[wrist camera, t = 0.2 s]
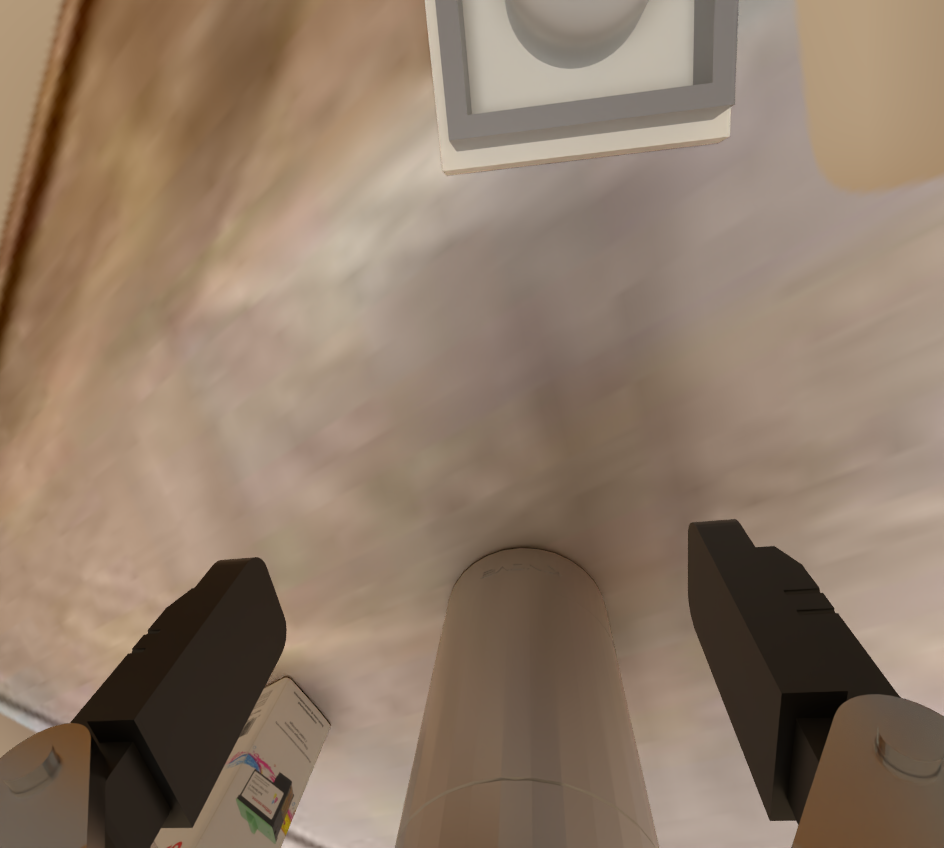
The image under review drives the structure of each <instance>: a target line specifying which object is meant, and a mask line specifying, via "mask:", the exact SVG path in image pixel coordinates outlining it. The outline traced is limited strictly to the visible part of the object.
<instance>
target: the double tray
mask: <svg viewBox="0 0 944 848" xmlns="http://www.w3.org/2000/svg"><path fill="white" fill-rule="evenodd" d="M738 1H739V0H425V8H426V17H427V27H428V36H429V46H430V56H431V65H432V75H433V85H434V94H435V104H436V114H437V123H438V133H439V143H440V152H441V162H442V171H443V172H444V173H445V174H446V175H447V176H448V175H457V174H465V173H473V172H482V171H490V170H498V169H507V168H515V167H523V166H532V165H540V164H548V163H557V162H565V161H573V160H582V159H590V158H599V157H607V156H615V155H624V154H632V153H640V152H649V151H657V150H665V149H674V148H682V147H690V146H699V145H707V144H715V143H719V142H721V141H723V140H724V139H726V138H728V137H730V118H731V107H732V106H733V105H734V104H735V82H736V55H737V28H738Z"/></svg>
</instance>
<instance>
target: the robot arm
mask: <svg viewBox="0 0 944 848" xmlns="http://www.w3.org/2000/svg"><path fill="white" fill-rule="evenodd" d="M688 599H689V607H690V612H691V617H692V621H693V625H694V628H695V631H696V633H697V636H698V638H699V641H700V643H701V646H702V649H703V651H704V654H705V656H706V659H707V661H708V664H709V667H710V669H711V672H712V674H713V677H714V679H715V682H716V684H717V687H718V690H719V692H720V695H721V697H722V700H723V702H724V705H725V707H726V710H727V713H728V715H729V718H730V720H731V723H732V725H733V728H734V730H735V733H736V736H737V738H738V741H739V743H740V746H741V748H742V751H743V753H744V756H745V759H746V761H747V764H748V766H749V769H750V771H751V774H752V776H753V779H754V782H755V784H756V787H757V789H758V792H759V794H760V797H761V799H762V802H763V805H764V807H765V810H766V812H767V815H768V817H769V820H770V821H793V820H796V821H797V823H798V825H799V826H798V829H797V832H796V835H795V838H794V841H793V844H792V847H791V848H944V716H942V715H940V714H939V713H937V712H935V711H933V710H931V709H929V708H927V707H925V706H923V705H920V704H918V703H915V702H913V701H910V700H907V699H903V698H901V697H900V696H899V695H898V694H897V693H896V691H895V690H894V689H893V687H892V686H891V684H890V683H889V682H888V680H887V679H886V678H885V676H884V675H883V674H882V672H881V671H880V670H879V668H878V667H877V666H876V664H875V663H874V661H873V660H872V659H871V657H870V656H869V655H868V653H867V652H866V651H865V649H864V648H863V647H862V645H861V644H860V643H859V641H858V640H857V638H856V637H855V636H854V634H853V633H852V632H851V630H850V629H849V628H848V626H847V625H846V624H845V622H844V621H843V620H842V618H841V617H840V615H839V614H838V613H835V611H834V607H833V606H832V605H831V603H830V602H829V601H828V599H827V598H826V597H825V595H824V594H823V593H820V590H819V587H818V586H817V584H816V583H815V582H814V580H813V579H812V578H811V576H810V575H809V574H808V572H807V571H806V570H805V568H804V567H803V565H802V564H800V563H799V562H797V561H796V560H794V559H793V558H791V557H790V556H788V555H787V554H785V553H784V552H782V551H781V550H779V549H778V548H776V547H775V546H770V547H755V546H754V544H753V543H752V541H751V540H750V538H749V537H748V535H747V534H746V532H745V530H744V529H743V527H742V526H741V524H740V523H739V522H738V521H737V520H736V519H731V520H718V521H705V522H692V523H690V525H689V530H688ZM285 641H286V621H285V617H284V614H283V611H282V609H281V606H280V603H279V600H278V597H277V595H276V592H275V589H274V586H273V583H272V581H271V578H270V575H269V572H268V570H267V567H266V565H265V563H264V561H263V560H262V559H260V558H258V557H255V558H242V559H229V560H220V561H217V562H216V563H215V564H214V565H213V566H212V567H211V568H210V570H209V571H208V572H207V573H206V574H205V576H204V577H203V578H202V579H201V581H200V582H199V583H198V584H197V586H196V587H195V588H192V589H191V590H189V591H188V592H187V593H186V594H184V595H183V596H182V597H180V598H179V599H178V600H176V601H175V602H174V603H172V604H171V605H170V606H168V607H167V608H166V609H165V610H164V612H163V613H162V614H161V615H160V616H159V617H158V619H157V620H156V621H155V622H154V623H153V625H152V626H151V627H150V628H149V629H148V634H147V635H143V637H142V638H141V639H140V640H139V641H138V643H137V644H136V645H135V646H134V647H133V649H132V650H133V651H132V653H130V654H127V656H126V657H125V658H124V659H123V660H122V662H121V663H120V664H119V665H118V666H117V668H116V669H115V670H114V671H113V672H112V674H111V675H110V676H109V677H108V678H107V680H106V681H105V682H104V683H103V684H102V686H101V687H100V688H99V689H98V690H97V691H96V693H95V694H94V695H93V696H92V697H91V699H90V700H89V701H88V702H87V703H86V705H85V706H84V707H83V708H82V709H81V711H80V712H79V713H78V714H77V715H76V717H75V718H74V719H73V720H72V721H71V722H70V723H66V724H61V725H56V726H53V727H50V728H47V729H45V730H43V731H41V732H38V733H36V734H34V735H33V736H31V737H29V738H27V739H26V740H24V741H22V742H21V743H19V744H18V745H16V746H15V747H14V748H12V749H11V750H9V751H8V752H7V753H6V754H5V755H3V756H2V757H1V758H0V848H158V846H157V845H156V843H155V841H154V840H155V838H156V836H157V835H158V833H159V831H160V829H161V828H193V826H194V824H195V822H196V820H197V818H198V816H199V814H200V812H201V810H202V809H203V807H204V805H205V803H206V801H207V799H208V797H209V795H210V793H211V791H212V789H213V787H214V785H215V783H216V781H217V779H218V777H219V775H220V773H221V771H222V769H223V767H224V765H225V764H226V762H227V760H228V758H229V756H230V754H231V752H232V750H233V748H234V746H235V744H236V742H237V740H238V738H239V736H240V734H241V732H242V730H243V728H244V726H245V724H246V722H247V720H248V718H249V717H250V715H251V713H252V711H253V709H254V707H255V705H256V703H257V701H258V699H259V697H260V695H261V693H262V691H263V689H264V687H265V685H266V683H267V681H268V679H269V677H270V675H271V673H272V671H273V670H274V668H275V666H276V664H277V662H278V660H279V658H280V656H281V654H282V652H283V649H284V646H285ZM395 848H659V844H658V840H657V835H656V831H655V826H654V822H653V818H652V813H651V809H650V804H649V800H648V795H647V791H646V786H645V782H644V777H643V773H642V768H641V764H640V760H639V755H638V751H637V746H636V742H635V737H634V733H633V728H632V724H631V719H630V715H629V710H628V706H627V702H626V697H625V693H624V688H623V684H622V679H621V675H620V670H619V666H618V661H617V656H616V651H615V646H614V642H613V638H612V633H611V629H610V625H609V620H608V616H607V611H606V607H605V604H604V600H603V597H602V594H601V592H600V591H599V589H598V587H597V585H596V583H595V582H594V581H593V580H592V578H591V577H590V576H589V575H588V574H587V573H586V572H585V571H584V570H583V569H582V568H580V567H579V566H578V565H576V564H575V563H573V562H572V561H571V560H569V559H567V558H564V557H562V556H560V555H558V554H556V553H552V552H548V551H544V550H540V549H529V548H517V549H509V550H503V551H500V552H497V553H494V554H491V555H488V556H486V557H484V558H483V559H481V560H479V561H477V562H476V563H474V564H473V565H472V566H471V567H470V568H468V569H467V570H466V571H465V572H464V573H463V574H462V575H461V577H460V578H459V580H458V581H457V583H456V584H455V586H454V588H453V590H452V593H451V596H450V599H449V602H448V607H447V611H446V616H445V620H444V625H443V630H442V634H441V639H440V643H439V646H438V651H437V656H436V660H435V665H434V669H433V674H432V679H431V683H430V688H429V692H428V697H427V702H426V706H425V711H424V715H423V720H422V725H421V729H420V734H419V738H418V743H417V748H416V752H415V757H414V761H413V766H412V771H411V775H410V780H409V784H408V789H407V794H406V798H405V803H404V808H403V812H402V817H401V821H400V826H399V831H398V835H397V840H396V844H395Z"/></svg>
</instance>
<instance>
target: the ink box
mask: <svg viewBox="0 0 944 848" xmlns="http://www.w3.org/2000/svg"><path fill="white" fill-rule="evenodd" d="M329 729H330V724H329V723H328V722H327V720H326V719H325V718H324V717H323V715H322V714H321V713H320V712H319V710H318V709H317V708H316V707H315V706H314V705H313V704H312V702H311V701H310V700H309V699H308V698H307V697H306V696H305V694H304V693H303V692H302V691H301V690H300V689H299V688H298V687H297V685H296V684H295V683H294V682H293V681H292V680H291V679H290V678H283V679H281V680H279V681H277V682H275V683H273V684H272V685H270V686H268V687H266V688H264V689H263V691H262V693H261V695H260V697H259V699H258V701H257V703H256V705H255V707H254V709H253V711H252V713H251V715H250V717H249V718H248V720H247V722H246V724H245V726H244V728H243V730H242V732H241V734H240V736H239V738H238V740H237V742H236V744H235V746H234V748H233V750H232V752H231V754H230V756H229V758H228V760H227V762H226V764H225V765H224V767H223V769H222V771H221V773H220V775H219V777H218V779H217V781H216V783H215V785H214V787H213V789H212V791H211V793H210V795H209V797H208V799H207V801H206V803H205V805H204V807H203V809H202V810H201V812H200V814H199V816H198V818H197V820H196V822H195V824H194V826H193V828H161V829H160V831H159V833H158V835H157V836H156V838H155V840H154V841H155V843H156V845H157V846H158V848H281V846H282V843H283V841H284V839H285V836H286V834H287V831H288V829H289V826H290V824H291V821H292V819H293V816H294V814H295V812H296V809H297V807H298V804H299V802H300V799H301V797H302V795H303V792H304V790H305V787H306V785H307V782H308V780H309V777H310V775H311V773H312V770H313V768H314V765H315V763H316V761H317V758H318V756H319V753H320V751H321V748H322V746H323V743H324V741H325V739H326V736H327V734H328V731H329Z"/></svg>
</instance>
